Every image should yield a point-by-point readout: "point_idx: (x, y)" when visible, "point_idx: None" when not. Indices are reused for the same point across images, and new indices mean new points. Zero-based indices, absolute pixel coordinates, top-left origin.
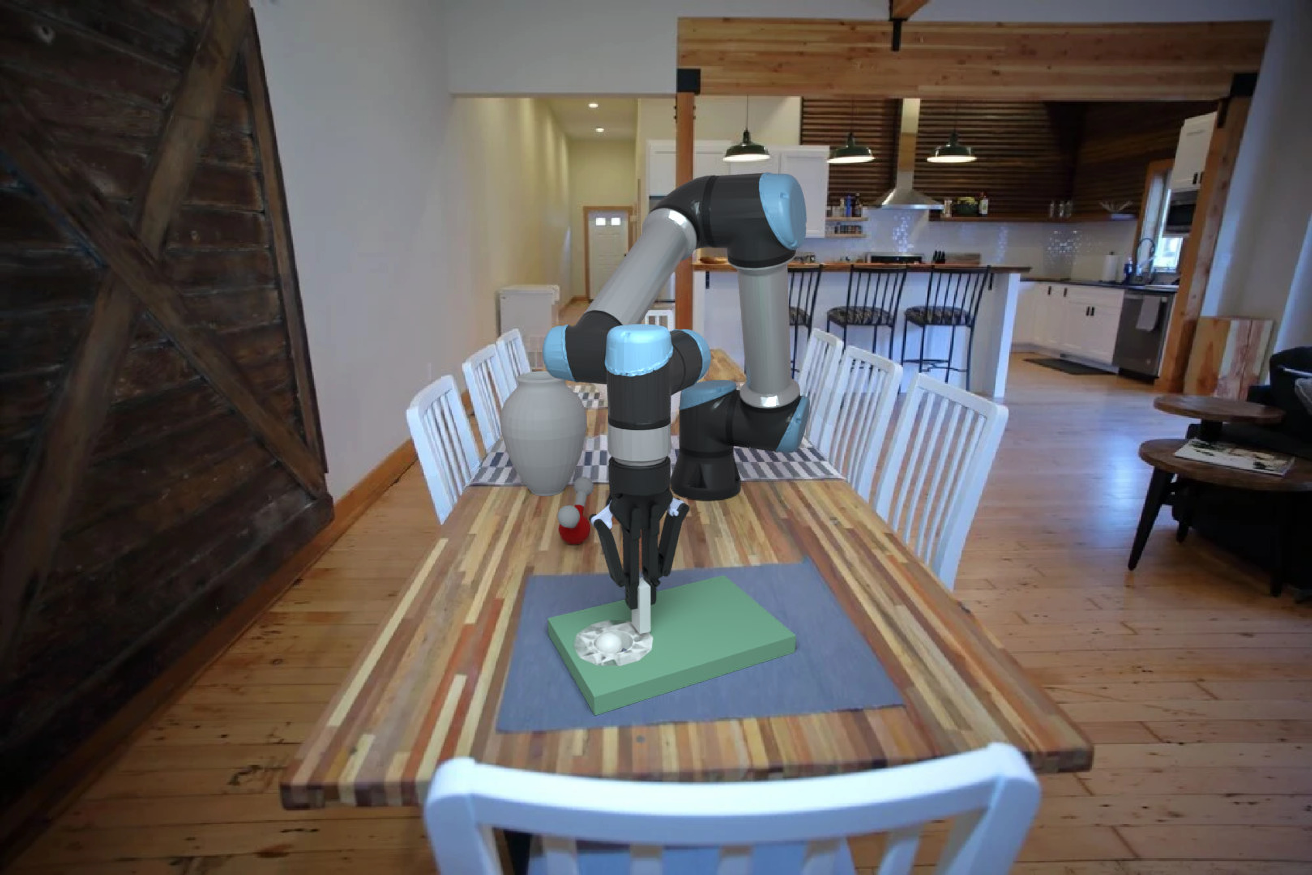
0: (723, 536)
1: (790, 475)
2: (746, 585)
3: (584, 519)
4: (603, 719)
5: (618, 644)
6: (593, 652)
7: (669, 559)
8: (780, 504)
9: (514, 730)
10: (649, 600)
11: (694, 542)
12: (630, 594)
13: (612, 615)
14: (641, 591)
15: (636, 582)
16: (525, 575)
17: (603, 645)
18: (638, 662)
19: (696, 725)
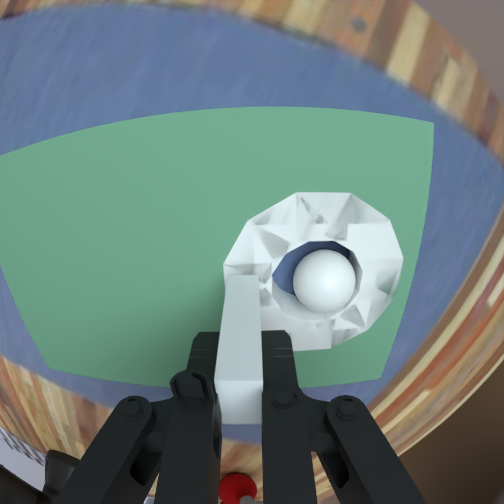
0: (60, 422)
1: (12, 436)
2: (32, 342)
3: (225, 499)
4: (401, 103)
5: (314, 268)
6: (373, 264)
7: (105, 454)
8: (13, 420)
9: (500, 164)
10: (223, 338)
11: (92, 431)
12: (291, 371)
13: None
14: (254, 370)
15: (276, 406)
16: None
17: (349, 275)
18: (300, 185)
19: (241, 5)
